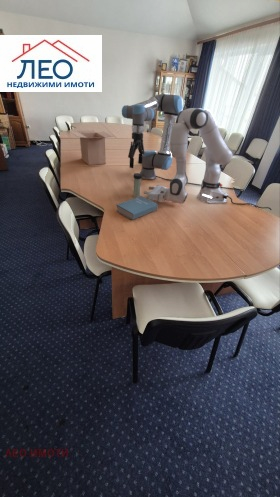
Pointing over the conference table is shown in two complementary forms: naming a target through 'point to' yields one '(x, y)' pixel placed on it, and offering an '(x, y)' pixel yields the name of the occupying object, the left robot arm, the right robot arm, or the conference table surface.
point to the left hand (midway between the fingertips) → (135, 165)
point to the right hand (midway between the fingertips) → (146, 190)
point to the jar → (137, 187)
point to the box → (92, 146)
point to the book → (136, 207)
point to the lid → (137, 176)
